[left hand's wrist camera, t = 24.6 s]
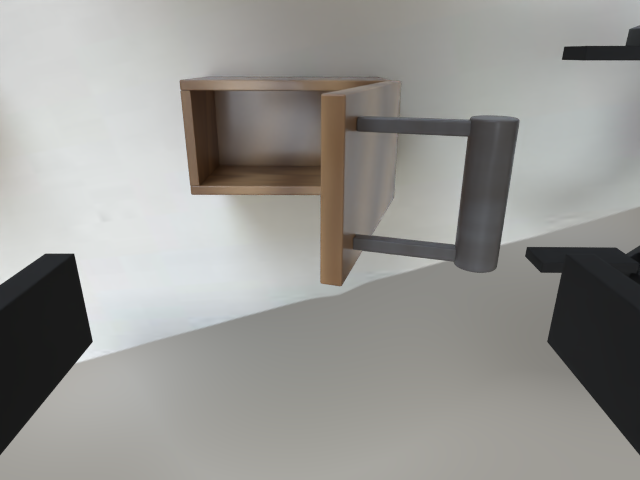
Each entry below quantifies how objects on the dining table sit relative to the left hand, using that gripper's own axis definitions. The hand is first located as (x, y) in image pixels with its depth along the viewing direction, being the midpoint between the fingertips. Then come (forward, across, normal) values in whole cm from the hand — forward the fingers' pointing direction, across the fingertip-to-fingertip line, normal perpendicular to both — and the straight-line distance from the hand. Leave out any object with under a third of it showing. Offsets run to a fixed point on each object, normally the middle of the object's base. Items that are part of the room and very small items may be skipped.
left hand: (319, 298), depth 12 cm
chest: (+36, -3, 0) cm, 37 cm away
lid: (+18, +3, 0) cm, 19 cm away
